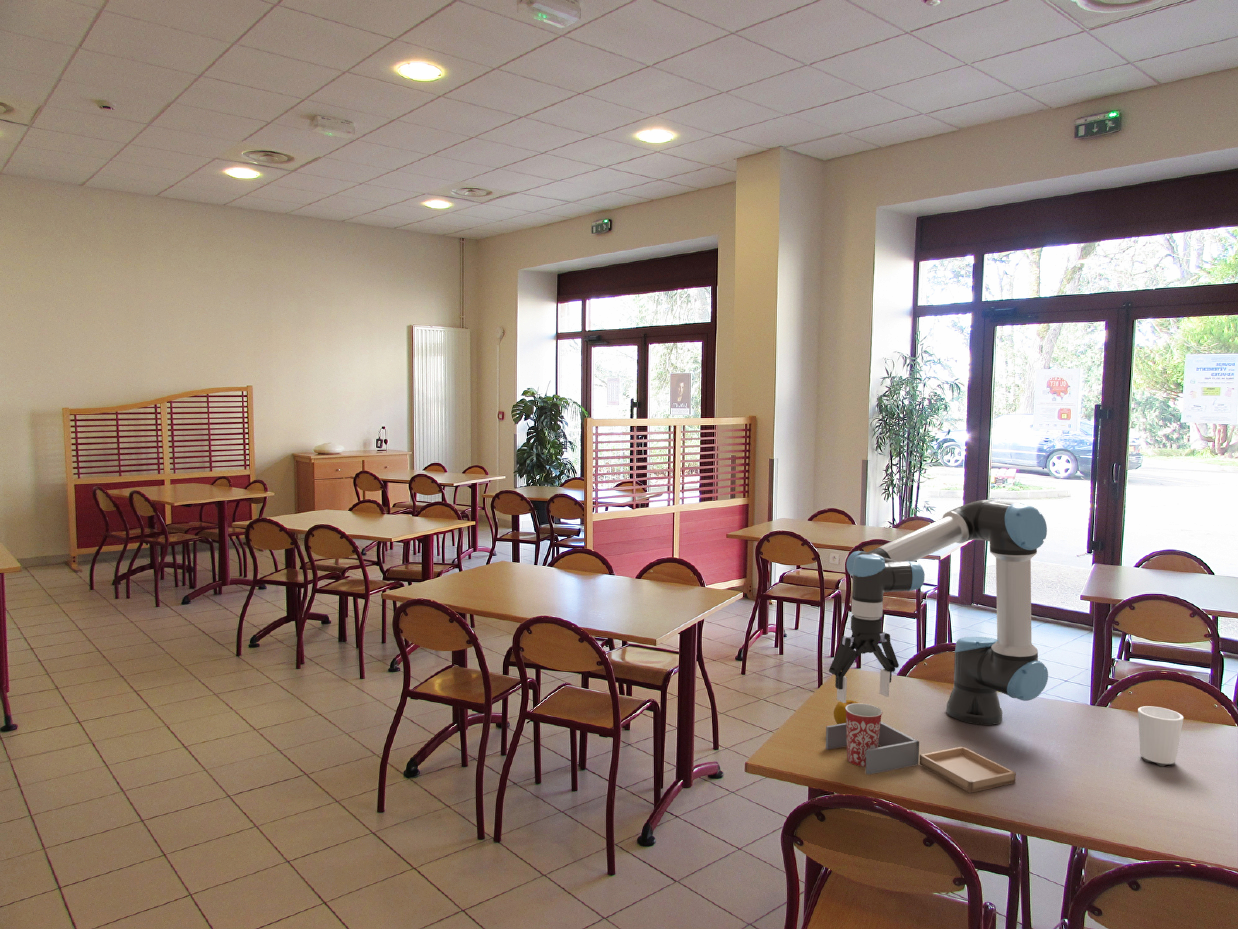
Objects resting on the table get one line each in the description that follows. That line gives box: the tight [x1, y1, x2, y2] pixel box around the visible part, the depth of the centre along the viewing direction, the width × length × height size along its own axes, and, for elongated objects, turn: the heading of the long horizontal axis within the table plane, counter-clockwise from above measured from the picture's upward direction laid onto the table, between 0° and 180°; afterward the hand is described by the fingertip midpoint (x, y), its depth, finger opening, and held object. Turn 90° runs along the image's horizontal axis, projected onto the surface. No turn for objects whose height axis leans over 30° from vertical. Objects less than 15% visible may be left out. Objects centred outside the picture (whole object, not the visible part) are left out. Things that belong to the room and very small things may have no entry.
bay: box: [825, 721, 920, 776], centre depth 210 cm, size 16×17×6 cm
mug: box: [845, 702, 884, 768], centre depth 208 cm, size 13×9×14 cm
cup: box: [1137, 705, 1184, 767], centre depth 209 cm, size 10×10×13 cm
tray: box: [918, 746, 1017, 794], centre depth 201 cm, size 14×16×2 cm
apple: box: [833, 699, 859, 725], centre depth 225 cm, size 8×8×9 cm
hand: (863, 698), depth 208 cm, fingers open, 13 cm apart
